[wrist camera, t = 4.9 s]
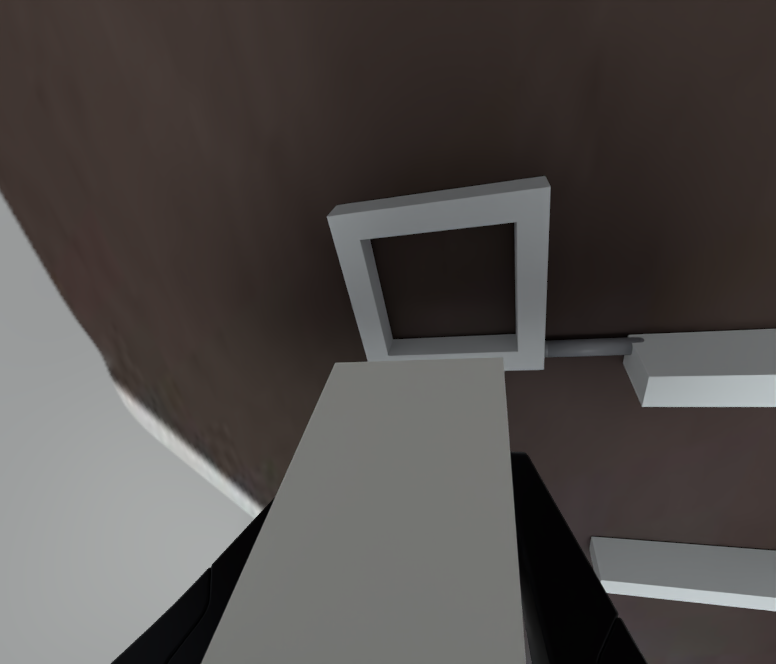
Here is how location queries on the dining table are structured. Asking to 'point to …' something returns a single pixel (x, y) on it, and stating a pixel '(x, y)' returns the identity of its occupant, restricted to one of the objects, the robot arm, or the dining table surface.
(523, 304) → the plate
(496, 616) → the block
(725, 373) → the frame
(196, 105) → the dining table surface
